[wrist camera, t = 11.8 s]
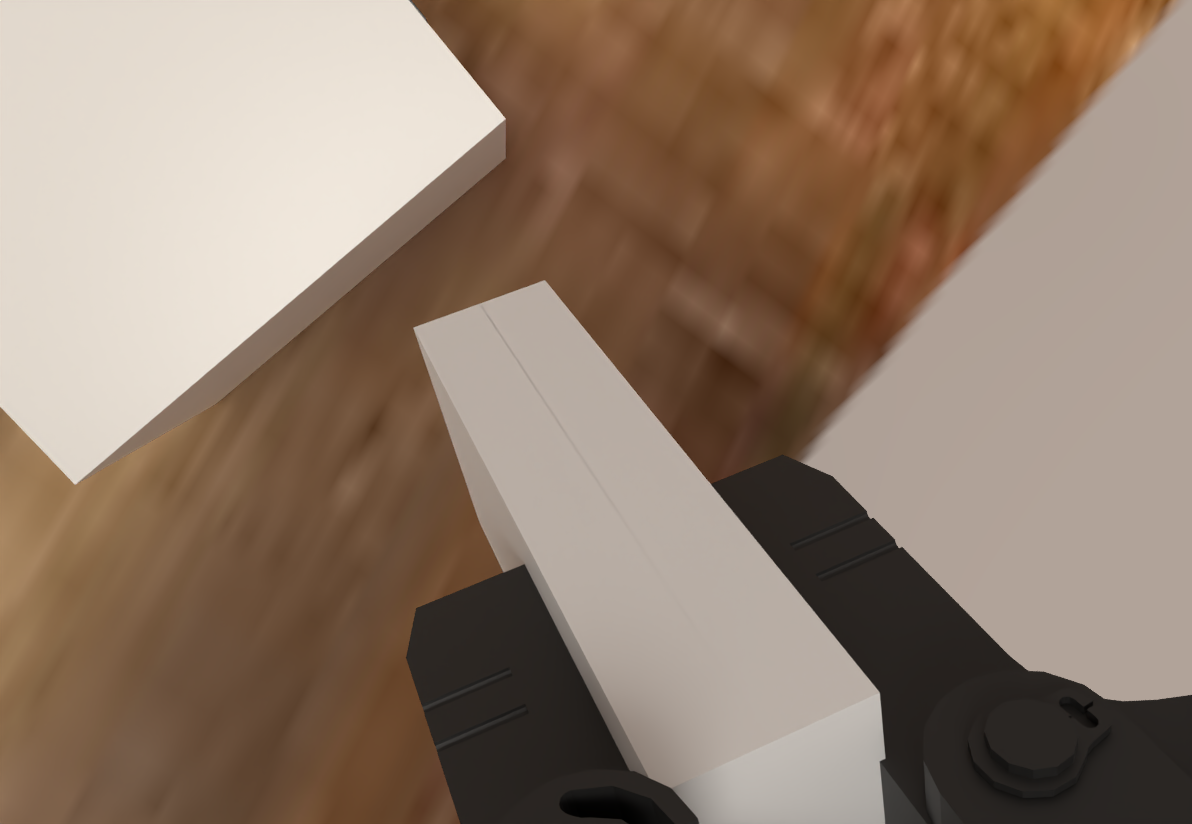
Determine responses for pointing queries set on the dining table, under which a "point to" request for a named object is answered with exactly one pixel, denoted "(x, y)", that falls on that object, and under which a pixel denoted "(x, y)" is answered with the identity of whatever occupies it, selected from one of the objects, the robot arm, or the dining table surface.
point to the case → (205, 194)
